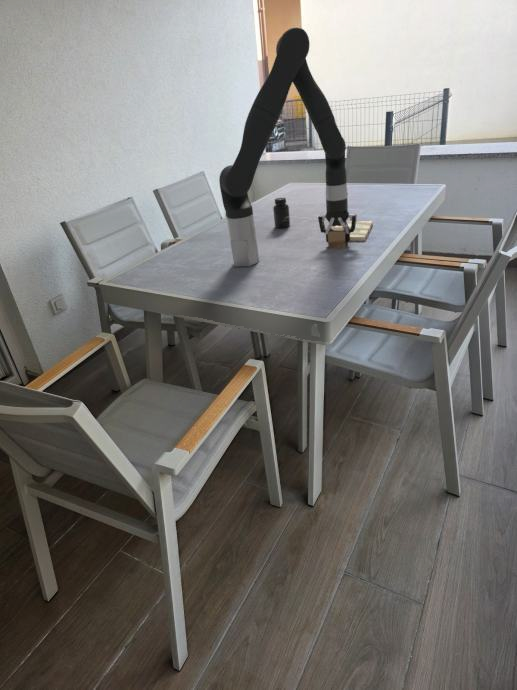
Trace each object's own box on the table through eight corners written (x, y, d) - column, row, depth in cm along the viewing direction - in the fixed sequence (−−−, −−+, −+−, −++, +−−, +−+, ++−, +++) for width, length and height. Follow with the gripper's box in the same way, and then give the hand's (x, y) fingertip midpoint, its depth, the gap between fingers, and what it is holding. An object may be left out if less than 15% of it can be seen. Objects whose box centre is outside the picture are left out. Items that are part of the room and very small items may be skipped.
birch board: (364, 240, 166) (364, 236, 165) (328, 241, 171) (327, 237, 170) (372, 224, 181) (372, 220, 181) (338, 225, 187) (338, 221, 186)
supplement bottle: (289, 228, 192) (286, 200, 186) (273, 229, 194) (270, 201, 187) (291, 223, 198) (288, 196, 192) (276, 224, 199) (273, 197, 193)
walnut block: (344, 248, 162) (344, 232, 159) (328, 248, 164) (327, 232, 161) (347, 242, 166) (347, 227, 163) (332, 242, 169) (331, 227, 166)
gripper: (314, 200, 156) (316, 246, 164) (355, 198, 151) (355, 246, 159) (319, 195, 162) (321, 239, 170) (358, 193, 157) (359, 239, 165)
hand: (338, 242), depth 165 cm, fingers closed on walnut block, 6 cm apart
